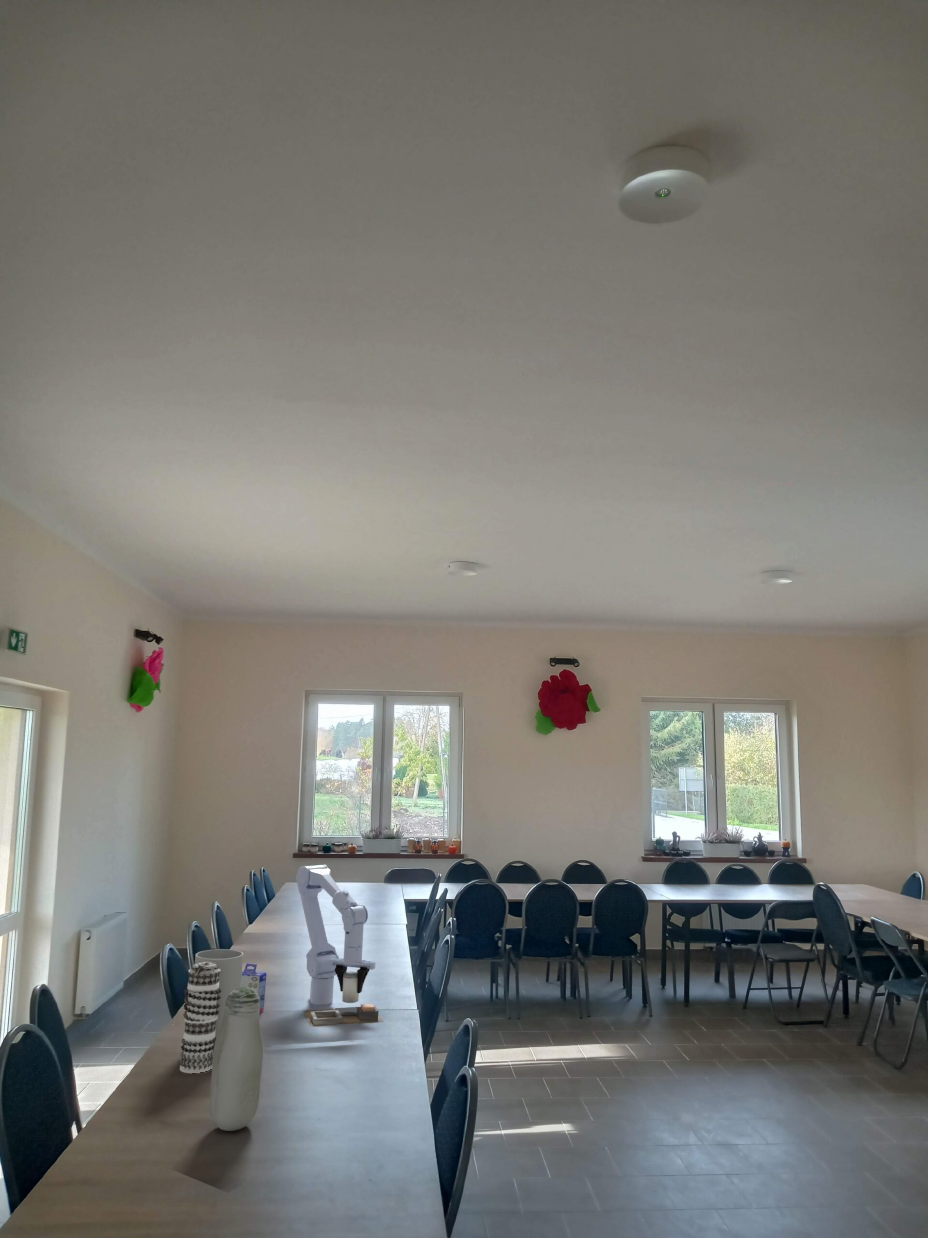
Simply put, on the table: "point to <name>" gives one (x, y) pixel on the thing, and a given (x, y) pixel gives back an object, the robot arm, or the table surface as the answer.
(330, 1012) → the base board
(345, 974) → the cylinder
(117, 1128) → the table surface
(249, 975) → the ink cartridge box
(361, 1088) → the table surface
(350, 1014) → the rubber mat
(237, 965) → the cylinder vase
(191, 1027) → the decorative candle
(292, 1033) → the table surface
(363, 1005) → the peach square block
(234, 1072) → the glass bottle
